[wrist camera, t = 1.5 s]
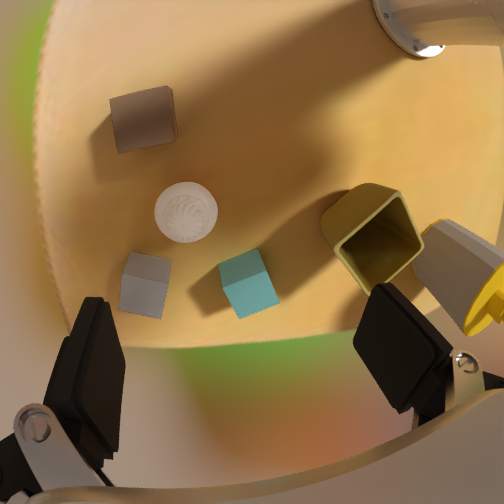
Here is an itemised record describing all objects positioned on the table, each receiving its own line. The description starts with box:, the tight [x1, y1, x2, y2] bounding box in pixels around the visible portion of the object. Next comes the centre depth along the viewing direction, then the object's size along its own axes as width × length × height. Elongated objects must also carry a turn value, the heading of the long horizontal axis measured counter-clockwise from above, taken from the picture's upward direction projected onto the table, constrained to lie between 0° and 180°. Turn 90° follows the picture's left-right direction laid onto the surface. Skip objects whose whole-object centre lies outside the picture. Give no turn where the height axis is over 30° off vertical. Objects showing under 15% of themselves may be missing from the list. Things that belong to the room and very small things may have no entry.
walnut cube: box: [109, 86, 178, 154], centre depth 22 cm, size 5×5×5 cm
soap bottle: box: [412, 219, 504, 336], centre depth 31 cm, size 13×13×21 cm
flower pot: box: [320, 183, 424, 296], centre depth 30 cm, size 9×9×9 cm
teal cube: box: [219, 248, 279, 319], centre depth 33 cm, size 5×5×5 cm
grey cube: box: [119, 251, 171, 319], centre depth 31 cm, size 5×5×5 cm
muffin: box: [154, 182, 218, 243], centre depth 26 cm, size 6×6×7 cm
